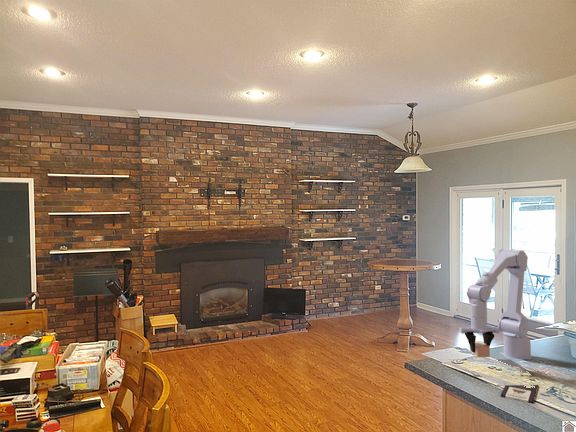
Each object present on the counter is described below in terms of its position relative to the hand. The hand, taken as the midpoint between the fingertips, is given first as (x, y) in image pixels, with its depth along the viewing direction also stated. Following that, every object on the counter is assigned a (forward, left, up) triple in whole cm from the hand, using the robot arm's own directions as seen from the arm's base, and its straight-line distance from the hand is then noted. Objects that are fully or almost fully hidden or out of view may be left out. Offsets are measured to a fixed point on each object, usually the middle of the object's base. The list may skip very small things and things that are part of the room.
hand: (479, 351), depth 162 cm
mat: (-4, +3, -6) cm, 8 cm away
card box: (0, 0, -1) cm, 1 cm away
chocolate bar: (-3, +23, -6) cm, 24 cm away
